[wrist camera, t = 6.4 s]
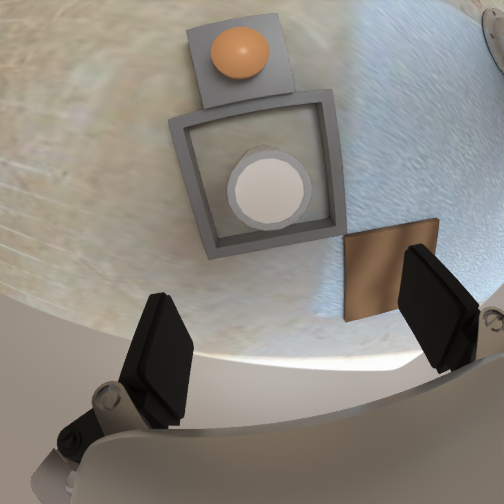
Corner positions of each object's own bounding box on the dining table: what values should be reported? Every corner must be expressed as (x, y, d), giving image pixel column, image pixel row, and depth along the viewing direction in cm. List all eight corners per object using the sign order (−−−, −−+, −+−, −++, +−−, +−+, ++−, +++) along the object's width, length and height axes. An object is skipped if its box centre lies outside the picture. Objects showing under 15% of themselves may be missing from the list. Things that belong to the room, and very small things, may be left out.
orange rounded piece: (259, 36, 19) (263, 22, 15) (269, 77, 21) (274, 71, 17) (212, 45, 19) (205, 33, 15) (221, 86, 21) (217, 82, 18)
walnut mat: (436, 217, 30) (439, 220, 30) (422, 297, 37) (425, 300, 36) (343, 234, 31) (345, 238, 31) (344, 318, 38) (345, 322, 38)
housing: (309, 20, 19) (318, 10, 16) (341, 225, 31) (350, 239, 28) (157, 49, 20) (146, 43, 17) (210, 249, 32) (207, 266, 29)
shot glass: (309, 177, 28) (328, 198, 22) (259, 215, 30) (263, 246, 24) (269, 126, 25) (277, 132, 19) (216, 168, 27) (208, 188, 21)
